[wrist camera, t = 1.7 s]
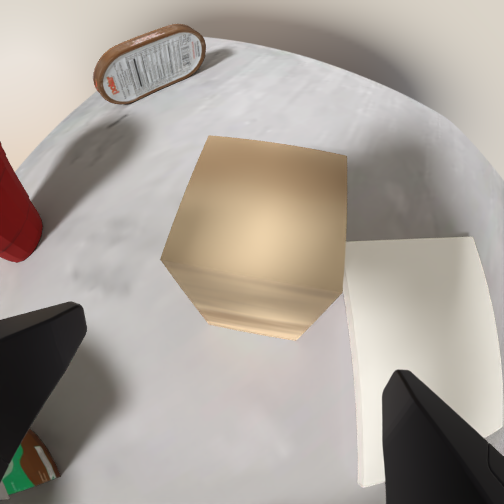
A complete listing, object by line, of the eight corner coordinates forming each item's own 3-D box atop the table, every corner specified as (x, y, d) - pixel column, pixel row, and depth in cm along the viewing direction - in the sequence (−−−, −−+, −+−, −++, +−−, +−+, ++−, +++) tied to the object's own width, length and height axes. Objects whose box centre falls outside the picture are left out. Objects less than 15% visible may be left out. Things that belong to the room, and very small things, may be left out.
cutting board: (494, 426, 14) (502, 426, 13) (357, 483, 14) (363, 488, 13) (466, 242, 22) (472, 236, 21) (336, 248, 22) (340, 241, 20)
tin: (201, 64, 34) (194, 15, 27) (212, 71, 33) (206, 19, 26) (104, 109, 31) (84, 59, 23) (109, 118, 30) (87, 65, 22)
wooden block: (295, 340, 19) (342, 292, 9) (209, 324, 19) (160, 259, 9) (307, 260, 21) (346, 156, 11) (228, 246, 22) (208, 135, 12)
